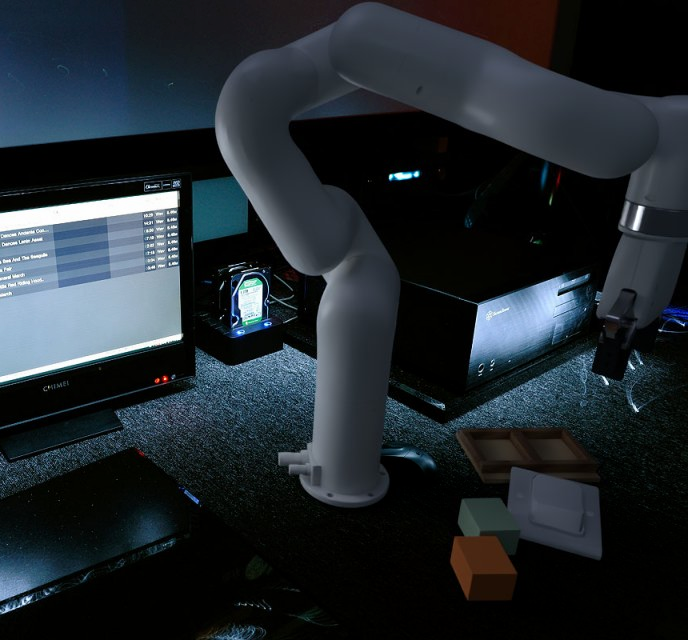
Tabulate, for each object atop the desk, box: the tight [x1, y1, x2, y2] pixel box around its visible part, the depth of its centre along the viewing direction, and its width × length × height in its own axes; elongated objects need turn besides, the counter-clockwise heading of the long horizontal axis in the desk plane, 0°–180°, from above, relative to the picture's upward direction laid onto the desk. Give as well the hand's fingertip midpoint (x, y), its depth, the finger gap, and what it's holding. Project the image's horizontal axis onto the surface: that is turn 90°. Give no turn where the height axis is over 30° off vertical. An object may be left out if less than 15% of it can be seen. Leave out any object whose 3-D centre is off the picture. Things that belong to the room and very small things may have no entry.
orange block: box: [449, 535, 518, 602], centre depth 77 cm, size 5×6×4 cm
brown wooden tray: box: [455, 426, 601, 484], centre depth 99 cm, size 16×12×2 cm
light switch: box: [506, 467, 603, 561], centre depth 87 cm, size 11×4×13 cm
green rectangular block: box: [457, 497, 521, 556], centre depth 84 cm, size 5×6×4 cm
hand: (621, 362), depth 77 cm, fingers open, 9 cm apart
